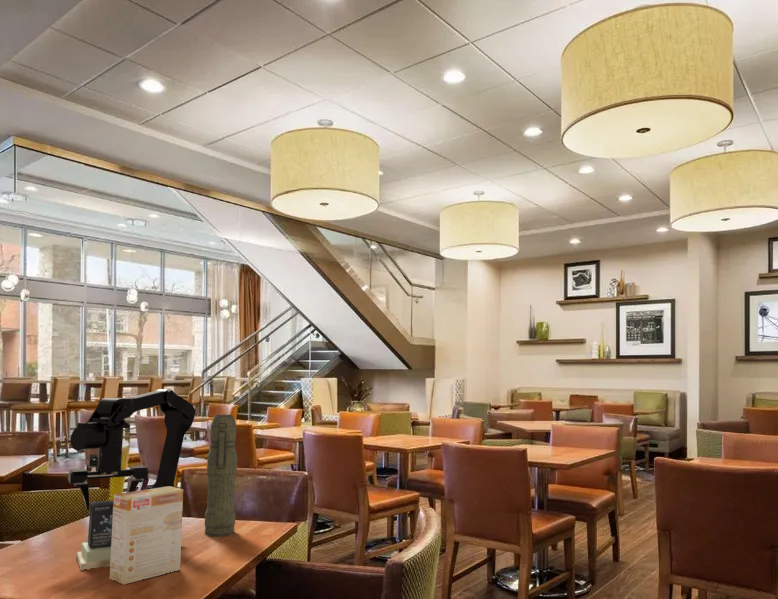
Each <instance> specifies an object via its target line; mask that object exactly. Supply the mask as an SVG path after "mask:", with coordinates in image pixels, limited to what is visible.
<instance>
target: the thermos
mask: <svg viewBox="0 0 778 599" xmlns="http://www.w3.org/2000/svg"><path fill="white" fill-rule="evenodd" d="M236 439H237V422H236V419H235V416H234V415H232V414H216V415H214V416H213V418H212V421H211V423H210V440H209V441H210V445H209V451H208V453H207V461H206V463H207V464H206V473H207V477H208V478H207V484H208V485H207V500H206V501H207V504H206V505H207V506H206V511H205V513H204V535H205V536H209V537H227V536H230V535H233V534H234V533H235V524H236V511H235V486H236V485H235V484H236V483H235V482H236V474H237V472H238V454H237V450H236V448H237V447H236Z"/></svg>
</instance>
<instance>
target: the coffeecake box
mask: <svg viewBox="0 0 778 599" xmlns="http://www.w3.org/2000/svg"><path fill="white" fill-rule="evenodd" d="M146 489H147V488H146ZM146 489H142V490H134V492H127V491H126V492H127V493H126V492H123V493H115V494H113V499H112V501H113V519H112V540H111V560H110V567H109V580H111V579H112V580H111V581H113V580H115V581H114V582H116V581H117V583H119V584H121V585H123V586H124V585H127V584H132V583H136V582H139V581H143V579H144V580H147V579H150V578H155V577H158V576H162V575H165V574H166V573H167V574H170V572H171V573H173V572H174V571H175V572H177V571H178V570H179V571H181V559H182V558H181V557H182V556H181V555H182V532H183V529H182V528H183V514H182V511H183V508H184V507H183V506H184V505H183V504H184V503H183V502H184V489H183V488H179V487H175V486H174V487H171V486H167V487H160V488H154V489H147V490H146ZM167 574H166V575H167Z"/></svg>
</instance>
